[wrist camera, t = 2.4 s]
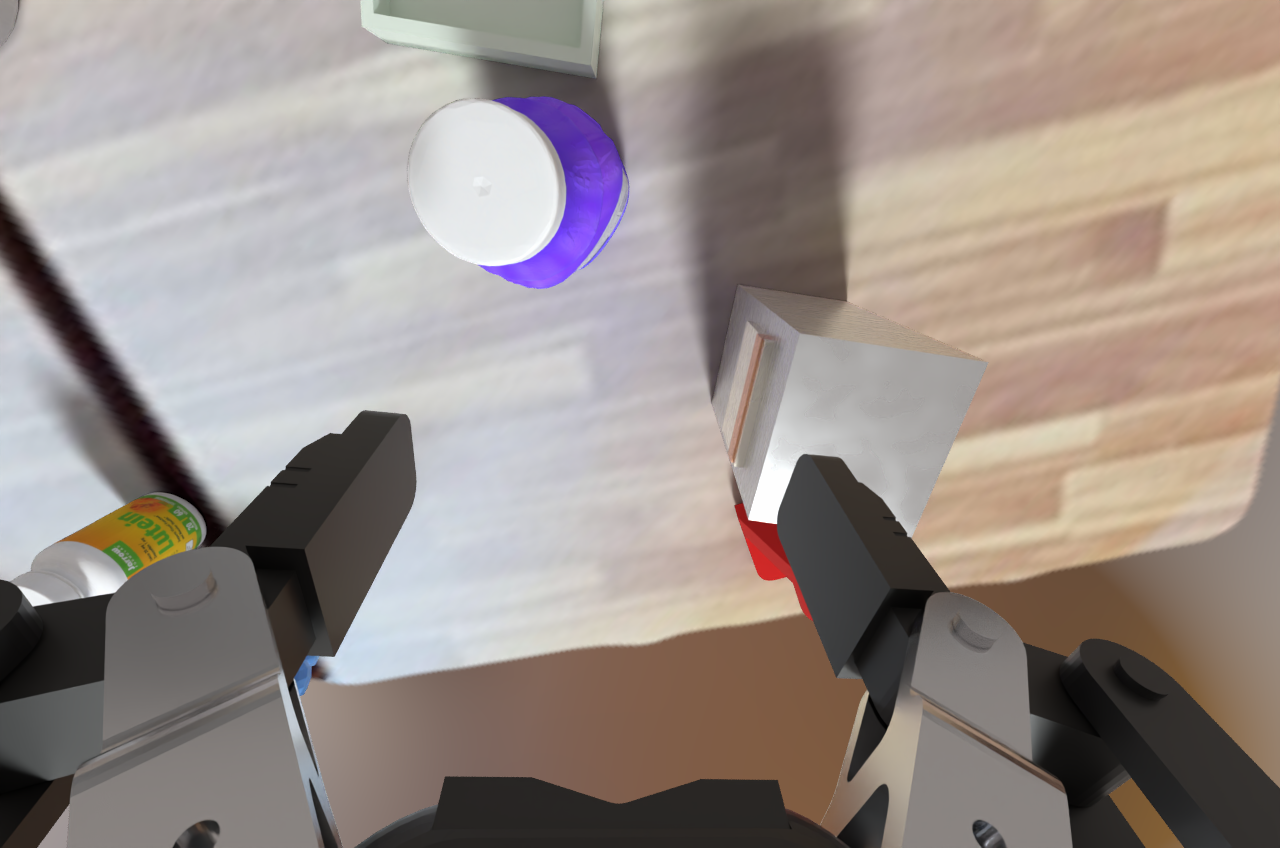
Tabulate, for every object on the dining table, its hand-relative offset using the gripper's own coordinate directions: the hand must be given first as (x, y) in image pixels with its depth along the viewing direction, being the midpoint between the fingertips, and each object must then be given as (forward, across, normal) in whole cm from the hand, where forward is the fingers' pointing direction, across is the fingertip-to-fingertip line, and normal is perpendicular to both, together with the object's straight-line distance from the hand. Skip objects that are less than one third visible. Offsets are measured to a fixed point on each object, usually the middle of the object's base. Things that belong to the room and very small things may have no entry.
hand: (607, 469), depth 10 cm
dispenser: (+21, -12, +5) cm, 25 cm away
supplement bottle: (+23, +31, +25) cm, 46 cm away
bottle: (+24, +2, -2) cm, 24 cm away
